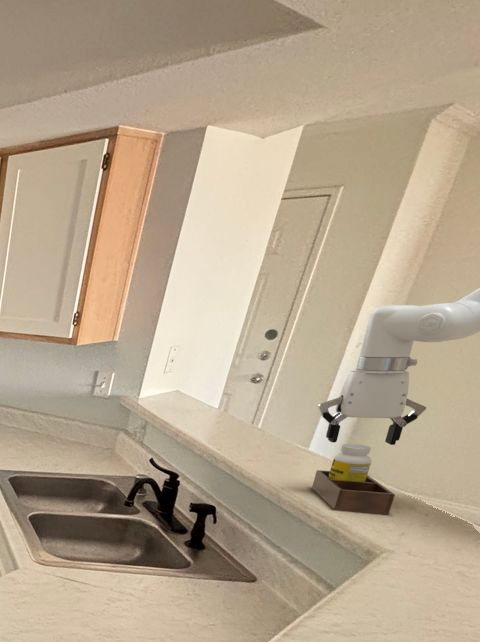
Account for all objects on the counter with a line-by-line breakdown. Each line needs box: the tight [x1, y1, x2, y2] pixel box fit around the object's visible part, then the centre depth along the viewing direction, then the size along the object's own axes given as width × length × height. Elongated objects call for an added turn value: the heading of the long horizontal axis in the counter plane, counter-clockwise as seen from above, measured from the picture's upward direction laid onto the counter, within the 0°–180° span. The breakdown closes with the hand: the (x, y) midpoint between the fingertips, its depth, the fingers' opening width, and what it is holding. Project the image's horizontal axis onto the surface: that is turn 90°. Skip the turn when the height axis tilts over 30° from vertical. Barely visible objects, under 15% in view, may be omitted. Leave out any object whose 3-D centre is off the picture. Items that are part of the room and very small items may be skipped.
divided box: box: [311, 469, 396, 515], centre depth 133 cm, size 9×17×5 cm, turn 151°
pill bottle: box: [328, 443, 372, 482], centre depth 135 cm, size 6×6×11 cm
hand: (360, 442), depth 132 cm, fingers open, 9 cm apart
